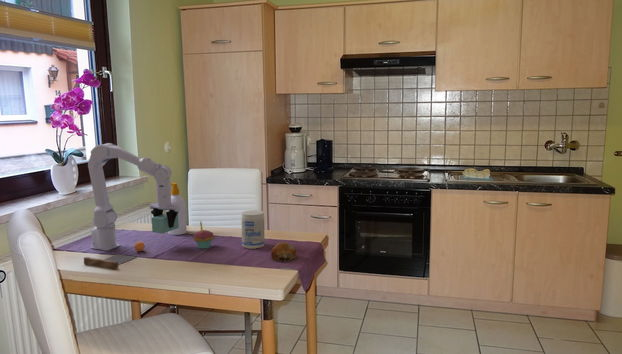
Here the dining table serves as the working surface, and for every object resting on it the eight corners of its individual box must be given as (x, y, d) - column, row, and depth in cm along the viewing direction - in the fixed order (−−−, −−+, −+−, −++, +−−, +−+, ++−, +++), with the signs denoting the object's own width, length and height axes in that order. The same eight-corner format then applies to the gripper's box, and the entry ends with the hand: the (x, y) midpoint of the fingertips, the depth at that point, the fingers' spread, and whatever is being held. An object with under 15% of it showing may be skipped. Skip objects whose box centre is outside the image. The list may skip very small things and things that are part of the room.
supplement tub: (245, 250, 194) (244, 215, 192) (239, 244, 203) (238, 211, 201) (267, 247, 198) (267, 213, 196) (261, 241, 206) (260, 209, 204)
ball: (132, 252, 194) (132, 242, 193) (139, 249, 197) (139, 240, 197) (140, 253, 192) (139, 243, 191) (147, 250, 196) (146, 241, 195)
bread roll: (298, 265, 186) (301, 245, 188) (289, 262, 177) (292, 241, 179) (275, 263, 189) (278, 243, 192) (265, 259, 180) (268, 239, 182)
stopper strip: (84, 264, 179) (83, 257, 179) (86, 263, 180) (86, 256, 180) (115, 269, 173) (115, 262, 172) (118, 268, 174) (117, 261, 173)
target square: (97, 262, 181) (97, 261, 181) (117, 254, 190) (117, 254, 190) (117, 265, 177) (117, 264, 177) (136, 257, 186) (136, 257, 186)
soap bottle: (171, 230, 228) (168, 181, 224) (189, 230, 226) (187, 181, 223) (163, 235, 219) (160, 184, 216) (182, 235, 218) (179, 184, 214)
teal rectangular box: (152, 232, 196) (151, 217, 195) (168, 226, 205) (167, 212, 204) (162, 233, 194) (162, 218, 193) (178, 227, 203) (178, 213, 202)
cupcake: (209, 250, 195) (207, 222, 193) (190, 249, 196) (188, 221, 195) (217, 244, 203) (216, 217, 201) (198, 243, 205) (197, 216, 203)
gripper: (184, 194, 198) (185, 226, 200) (157, 192, 204) (158, 222, 206) (172, 197, 191) (174, 230, 193) (145, 195, 197) (147, 226, 199)
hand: (165, 226), depth 199 cm, fingers closed on teal rectangular box, 6 cm apart
